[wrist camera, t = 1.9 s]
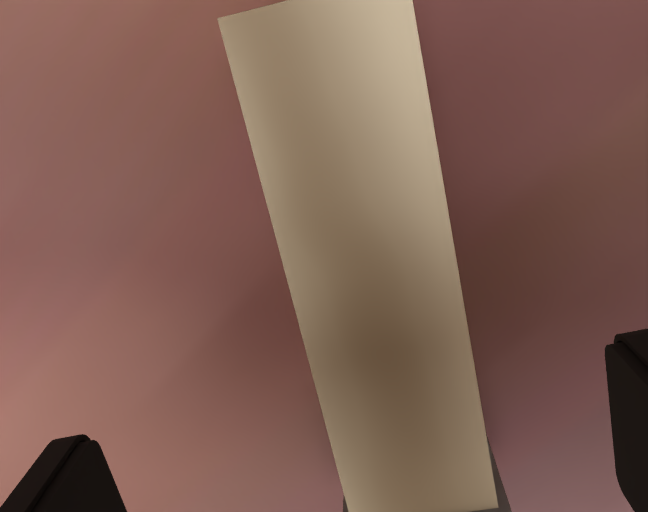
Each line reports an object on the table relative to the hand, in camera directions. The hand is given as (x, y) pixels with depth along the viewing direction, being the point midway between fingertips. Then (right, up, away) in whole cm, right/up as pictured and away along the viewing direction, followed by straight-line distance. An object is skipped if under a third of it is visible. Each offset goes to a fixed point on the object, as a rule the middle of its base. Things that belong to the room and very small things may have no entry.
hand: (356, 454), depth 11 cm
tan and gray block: (+1, +3, +10) cm, 10 cm away
